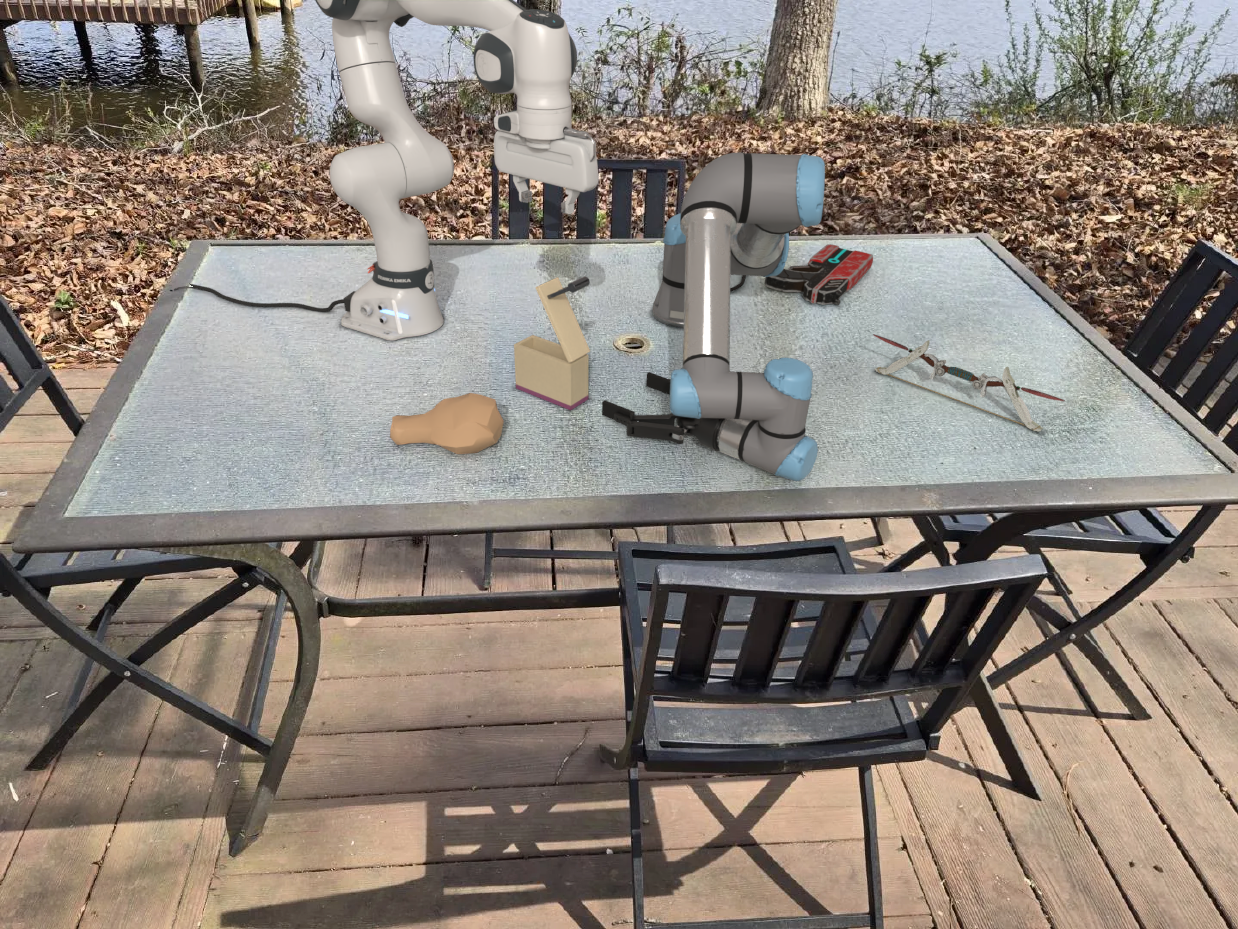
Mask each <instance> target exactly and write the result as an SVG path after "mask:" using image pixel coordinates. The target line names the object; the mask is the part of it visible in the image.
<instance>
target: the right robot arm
mask: <svg viewBox="0 0 1238 929" xmlns="http://www.w3.org/2000/svg"><path fill="white" fill-rule="evenodd" d="M825 179H826V164H825V161H824V159H823V158H822V157H820V156H818V155H809V154H808V153H803V154H782V153H781V154H780V153H755V152H754V153H752V152H751V153H750V152H749V153H748V152H731V153H726V154H723V155H720V156H718V157H716V158H715V159H713V160H712V161H710V162H709V163H708V164H706V165H705V166H704V167H703V168H701V170H700V171H699V172H698V174H697V175H696V176H695V178H693V180H692V182H691V183H690V184H689V186H688V189H687V190H686V193H685V194H684V198H683V201H682V204H681V207H680V213H676V214H675V215H673V216H671V217H670V218H669V219H668V220H667V221H666V224H665V228H664V237H663V238H662V240H663V244H664V245H663V259H662V273H661V274H662V276H661V284H660V285H659V288H658V290H657V293H656V295H655V298H654V300H653V304H652V317H653V318H654V319H655V320H656V321H658V322H659V323H661V324H663V325H666V326H671V327H675V328H680V329H681V328H682V329H683V334H682V335H683V336H682V338H683V339H682V342H683V343H682V345H683V346H682V368H678V369H673V370H672V371H671V373H670V378H667V377H664V376H661V375H658V374H656V373H652V372H650V371H648V372H647V373H646V381H645V387H647V388H649V389H652V390H655V391H658V392H660V393H663V394H665V395H669V411H670V413H669V414H636V411H634V410H631V409H628V408H626V407H624V406H621V405H618V404H617V403H614V402H611V401H608V400H606V399H604V400H603V401H602V402H601V416H603V417H606V418H607V419H611V420H613V421H614V422H615V423H618V424H621V425H623V426H624V427H626V436H627V437H632V438H639V439H648V440H658V441H666V442H672V443H674V444H678V445H683V444H684V442H685V438H686V437H687V436H690V437H691V436H692V437H694V438H695V439H696V440H697V442H698V443H699V445H701V446H703V447H705V448H707V449H710V450H712V451H715V452H720V453H721V454H724V455H726V456H729V457H732V458H735V459H737V460H740V461H742V462H744V463H746V464H749V465H751V466H754V467H756V468H758V469H761V470H763V471H765V472H768V473H770V474H773V475H774V476H776V477H781V478H783V479H786V480H790V481H794V482H801V481H803V480H804V479H805V478H806V477H807V476H809V474H810V473H811V472H812V470H813V467H814V466H815V463H816V461H817V457H818V452H819V448H818V442H817V440H815V439H814V438H811V437H810V436H808V435H806V425H807V418H808V412H809V409H810V408H809V407H810V402H811V399H812V396H813V394H812V389H813V379H814V372H813V371H812V368H811V367H810V365H809V364H807V363H805V362H804V361H803V360H800V359H798V358H793V357H779V358H773V359H771V360H769V361H768V362H767V364H766V365H765V368H764V370H763V372H752V371H731V368H730V364H731V361H730V360H731V356H730V355H731V341H730V340H731V293H732V292H735V291H737V290H739V289H741V288H742V287H743V285H744V284H745V282H746V278H747V277H749V276H750V277H763V278H766V277H769V276H776V275H779V274H780V273H781V272H782V270H783V269H785V267H786V262H787V261H788V256H789V252H790V251H789V249H790V233H792V232H794V231H795V230H797V229H798V228H799V227H805V228H810V227H816V226H818V225H820V223H821V221H822V218H823V209H824V200H825V183H826V182H825V181H826V180H825ZM731 276H741V279H740V281H739V283H738V284H736V285H735V286H732V287H731ZM675 424H676V426H675Z"/></svg>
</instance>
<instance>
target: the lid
mask: <svg viewBox="0 0 1238 929" xmlns="http://www.w3.org/2000/svg"><path fill="white" fill-rule="evenodd" d="M590 283H591V280H590V279H589V277H588V276H585V275H584V276H581V277H579V278H577V279H576V280H573V281H571V282H569V283H568V284H567V286H565V287H563V285H562V283H561V280H560V278H559V277H555V278H553V279H550V280H548V281H546V282H544V283H542V284H539V285H537V286H535V290H536V292H537V295H538V296H539V297H538V298H539V299H540V301H541V304H542V306H543V308H544V310H545V314H546V315H547V318H548V320H549V322H550V324H551V327H552V328H553V331H554V333H555V335H556V337H557V340H558V342H559V344H560V345H561V347H562V349H563V351H564V354H565V356H566V358H567V360H568V363H570V362H573V361H574V360H576V359H578V358H580V357H581V356H583V355H585V354H588V353H590V352H591V349H590V347H589V344H588V343H587V340H586V337H585V335H584V334H583V331H582V329H581V326H580V324H579V322H578V320H577V317H576V315H575V313H574V309H573V308H572V305H571V304H570V301H569V299H568V297H567V294H566V293H568V292H570V293H572V294H574V293H576V292H578V291H580V290H583V289H585V288H587V287H589V285H590Z"/></svg>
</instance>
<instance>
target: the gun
mask: <svg viewBox="0 0 1238 929" xmlns="http://www.w3.org/2000/svg"><path fill="white" fill-rule="evenodd" d="M873 263H874V254H871V253H868V252H864V251H860V250H857V249H856V250H850V249H846V248H841V247H840V246H839V245H837V244H832V243H829V244H828V243H827V244H826V245H824V246H823V247H822V248H821V249H819V250H818V251H817V252H816V253H815V254H813V255H812V256H810V258H809V261H808V262H807V264H803V265H790V266H788V267H787V268H784V269H783V270H782V272H781V273H780V274H779V275H776V276H769V277H764V286H765V287H767V288H768V289H771V290H775V291H778V292H784V293H802V298H803V299H804V300H805V301H807V302H810V304H813V305H816V304H818V305H822V306H824V305H825V306H827V305H830V304H832V305H836V306H840V304H841V299H840V298H841V297H843V296H844V294H845V293H849V291H850V290H852V289H853V288H854V287H855V286H856V285H857V284H858V283H859V282H860V281H861V280H862V278H864V276H865V275H866V274H867V273H868V272H869V270H870V269H871V268H872V265H873Z"/></svg>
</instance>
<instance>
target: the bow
mask: <svg viewBox="0 0 1238 929" xmlns="http://www.w3.org/2000/svg"><path fill="white" fill-rule="evenodd" d="M872 336H873V337H875V338H877V339H879V340H880V341H883V342H884V343H887V344H889V345H891V346H894V347H896V348H898V349H901V350H904V351H908V353H909V355H907V356H904V357H901V358H900V359H898V360H896V361H894V362H892V363H891V364H890V365H889V366H887V367H886V366H884V367H883V366H882V367H881V366H876V367H875V368H874V371H875V372H876V373H878V374H880V375H884V376H885V375H887V376H889V377H892V378H895V379H898V380H900V381H902V382H906V383H908V384H910V385H914V386H916V387H919V388H922V389H925V390H926V391H930V392H932V393H935V394H938V395H940V396H943V397H946V398H949V399H951V400H953V401H957V402H959V403H962V404H966V405H967V406H971V407H973V408H976V409H979V410H982V411H984V412H987V413H990V414H992V415H995V416H998V417H1000V418H1003V419H1005V420H1008V421H1011V422H1014V423H1016V424H1019V425H1022V426H1025V427H1026V428H1027V429H1029V430H1031V431H1034V432H1041V431H1042V430H1043V429H1044V427H1042V426H1041V424H1040V425H1039V424H1038V423H1037V422H1036V421H1034V420H1033V419H1032V416H1031V413H1030V410H1029V409H1028V407H1027V404H1026V403H1025V401H1024V400H1023V398H1022V397H1021V396H1020V394H1019V392H1018V391H1020V390H1021V391H1022V392H1025V393H1028V394H1030V395H1033V396H1037V397H1041V398H1043V399H1044V398H1045V399H1047V400H1052V401H1057V402H1058V401H1059V402H1065V401H1066V399H1063V398H1060V397H1057V396H1055V395H1051V394H1050V393H1049V394H1048V393H1046V392H1042V391H1040V390H1036V389H1032V388H1028V387H1023V386H1022V387H1021V386H1018V385H1016V383H1015V382H1016V381H1015V379H1014V378H1013V376H1012V375H1011V370H1010V367H1009V366H1006V367H1004V369H1003V372H1002V375H1001V378H1000V377H999V376H994V375H993V376H988V375H987V374H986V373H985V372H983V373H981V374H980V375H979V376H976V375H975V374H974V373H972V371H969V370H966V369H963V368H961V367H957V366H948V365H946V364H947V359H938V357H937V356H936V355H934V354H931V353H926V352H927V351H928V350H929V346H930V343H931V341H930V340H929V339H927V340H926V341H924V343H923V344H922V345H920V346H918V347H916V348H915V349H912V348H909V347H908V346H906V345H903V344H901V343H898V342H897V341H894V340H892V339H889V338H886V337H883V336H880V335H878V334H874V333H873V334H872ZM921 359H922V360H923V361H924V362H925V363H926V364H928V365H929V367H931V368H932V372H931V373H930V375H929V376H928V377H929V379H931V380H934V379H936V378H937V377H936V376H939V377H943V376H945V375H946V374H948V375H951V376H953V377H957V378H959V379H962V380H964V381H967V382H971V383H972V387H973V388H974V389H975V390H979V391H980V392H979V394H980V395H979V397H981V398H983V399H984V398H985V397H987V396H988V395H987V393H988V390H987V388H988V387H990V388H998V387H1001V388H1003V389H1004V391H1005V392H1006V394H1007V396H1008V397H1009V398H1010V401H1011V402H1012V405H1013V407H1014V409H1015V410H1016V412H1017V416H1018V418H1020V420H1021V422H1019V421H1017V420H1014V419H1011V418H1009V417H1005V416H1003V415H1000V414H997V413H995V412H993V411H990V410H987V409H985V408H981V407H979V406H976V405H974V404H970V403H968V402H965V401H962V400H959V399H957V398H954V397H951V396H948V395H946V394H943V393H941V392H938V391H935V390H933V389H930V388H928V387H924V386H922V385H920V384H916V383H913V382H911V381H908V380H906V379H903V378H900V377H897V376H895V375H892V374H893V373H894V372H898V371H900V370H901V369H903V368H904V367H906V366H908V365H910V364H912V363H914V362H916V361H918V360H921Z"/></svg>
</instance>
